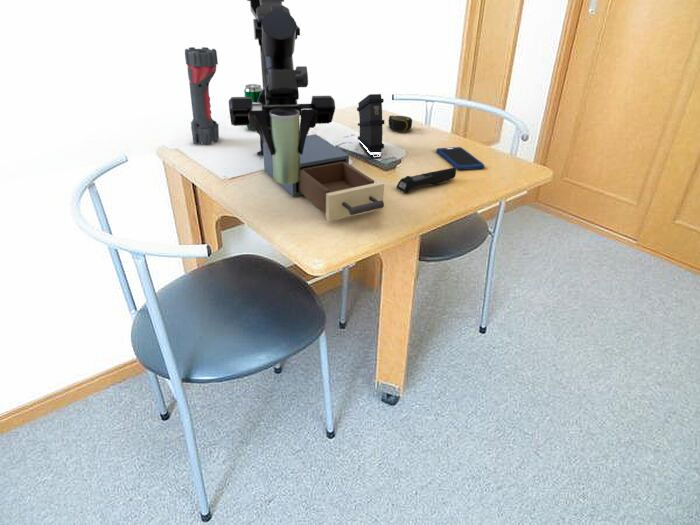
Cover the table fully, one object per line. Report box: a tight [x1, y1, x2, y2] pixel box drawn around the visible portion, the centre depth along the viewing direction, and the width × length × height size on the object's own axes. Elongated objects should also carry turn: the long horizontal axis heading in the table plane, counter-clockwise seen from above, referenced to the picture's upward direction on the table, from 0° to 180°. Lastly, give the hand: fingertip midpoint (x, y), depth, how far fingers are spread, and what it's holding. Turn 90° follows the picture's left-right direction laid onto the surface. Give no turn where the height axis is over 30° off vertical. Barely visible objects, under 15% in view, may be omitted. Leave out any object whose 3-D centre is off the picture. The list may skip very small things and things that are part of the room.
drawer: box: [298, 161, 385, 222], centre depth 97 cm, size 19×12×5 cm, turn 31°
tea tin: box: [270, 108, 301, 184], centre depth 87 cm, size 5×5×12 cm
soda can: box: [243, 83, 263, 132], centre depth 137 cm, size 5×5×12 cm
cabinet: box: [263, 133, 350, 198], centre depth 109 cm, size 16×14×7 cm
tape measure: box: [387, 115, 413, 133], centre depth 143 cm, size 7×7×4 cm
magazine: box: [356, 93, 385, 159], centre depth 125 cm, size 4×13×15 cm, turn 15°
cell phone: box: [435, 146, 485, 171], centre depth 125 cm, size 7×14×1 cm, turn 15°
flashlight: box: [184, 46, 220, 146], centre depth 124 cm, size 8×8×23 cm
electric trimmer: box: [396, 167, 457, 194], centre depth 110 cm, size 4×16×3 cm, turn 121°
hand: (286, 154), depth 87 cm, fingers closed on tea tin, 5 cm apart
